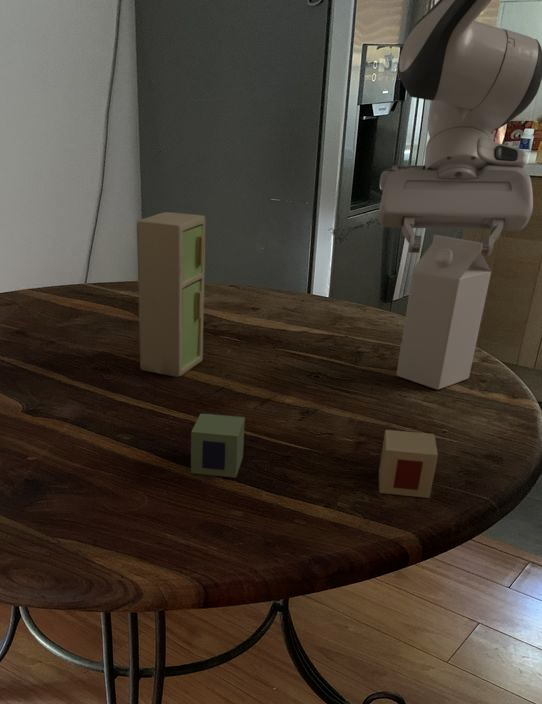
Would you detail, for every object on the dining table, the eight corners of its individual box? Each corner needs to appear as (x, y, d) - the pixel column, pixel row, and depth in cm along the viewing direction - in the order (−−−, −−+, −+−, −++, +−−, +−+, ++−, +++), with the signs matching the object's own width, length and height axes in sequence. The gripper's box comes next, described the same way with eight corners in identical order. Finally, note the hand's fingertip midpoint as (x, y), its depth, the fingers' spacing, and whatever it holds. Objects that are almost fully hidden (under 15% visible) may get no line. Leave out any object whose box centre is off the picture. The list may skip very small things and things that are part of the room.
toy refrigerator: (183, 379, 105) (183, 224, 94) (139, 370, 108) (134, 220, 98) (208, 362, 111) (211, 215, 100) (165, 354, 114) (164, 211, 104)
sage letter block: (242, 457, 84) (244, 417, 81) (235, 478, 79) (237, 436, 77) (199, 453, 85) (200, 413, 82) (190, 473, 80) (190, 432, 78)
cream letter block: (426, 475, 79) (434, 433, 77) (429, 499, 75) (438, 455, 72) (378, 471, 80) (385, 429, 78) (379, 493, 76) (385, 450, 74)
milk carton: (426, 365, 109) (450, 231, 99) (468, 379, 104) (498, 239, 94) (395, 376, 105) (417, 238, 95) (437, 391, 100) (465, 246, 90)
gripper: (383, 150, 104) (374, 235, 101) (538, 151, 100) (534, 240, 97) (379, 180, 110) (370, 261, 107) (525, 182, 106) (521, 267, 103)
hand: (449, 251), depth 102 cm, fingers open, 8 cm apart
